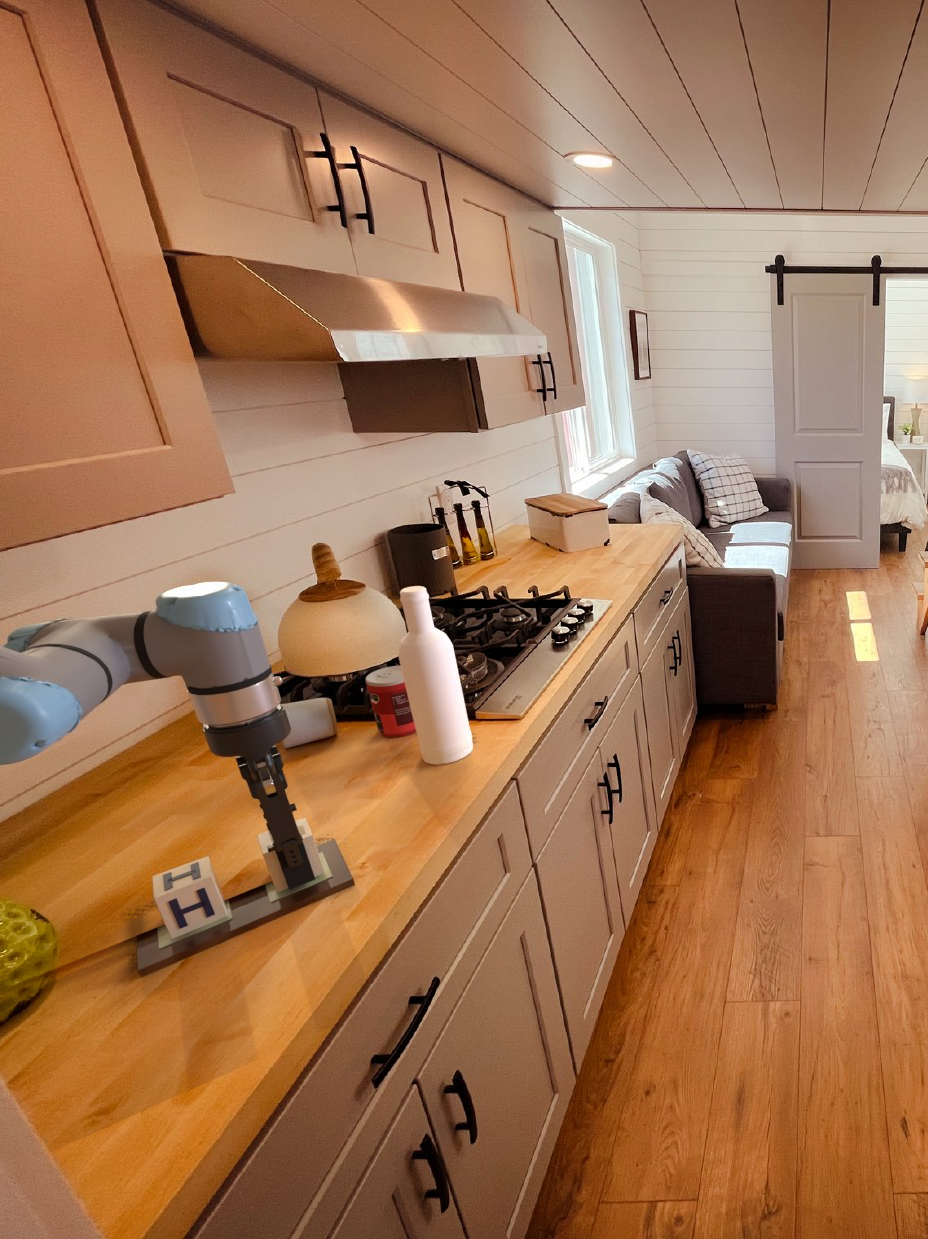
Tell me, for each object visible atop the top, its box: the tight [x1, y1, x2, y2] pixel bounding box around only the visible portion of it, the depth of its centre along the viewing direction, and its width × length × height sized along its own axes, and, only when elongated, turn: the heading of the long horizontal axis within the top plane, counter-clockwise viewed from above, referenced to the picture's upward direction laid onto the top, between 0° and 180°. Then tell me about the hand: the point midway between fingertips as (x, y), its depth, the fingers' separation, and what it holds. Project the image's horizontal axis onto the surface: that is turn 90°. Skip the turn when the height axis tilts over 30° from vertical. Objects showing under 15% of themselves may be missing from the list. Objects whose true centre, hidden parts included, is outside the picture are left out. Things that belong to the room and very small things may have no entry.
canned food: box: [365, 665, 416, 738], centre depth 123 cm, size 8×8×11 cm
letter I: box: [256, 817, 325, 893], centre depth 86 cm, size 5×5×6 cm
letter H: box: [151, 855, 228, 939], centre depth 80 cm, size 5×5×6 cm
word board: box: [135, 838, 356, 978], centre depth 84 cm, size 20×11×1 cm, turn 135°
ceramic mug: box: [280, 697, 339, 749], centre depth 120 cm, size 11×8×8 cm
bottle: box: [397, 585, 474, 766], centre depth 112 cm, size 8×8×30 cm
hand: (297, 871), depth 87 cm, fingers closed on letter I, 5 cm apart
